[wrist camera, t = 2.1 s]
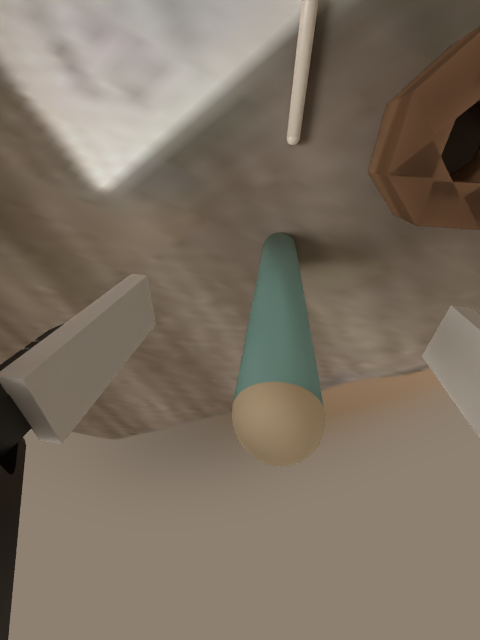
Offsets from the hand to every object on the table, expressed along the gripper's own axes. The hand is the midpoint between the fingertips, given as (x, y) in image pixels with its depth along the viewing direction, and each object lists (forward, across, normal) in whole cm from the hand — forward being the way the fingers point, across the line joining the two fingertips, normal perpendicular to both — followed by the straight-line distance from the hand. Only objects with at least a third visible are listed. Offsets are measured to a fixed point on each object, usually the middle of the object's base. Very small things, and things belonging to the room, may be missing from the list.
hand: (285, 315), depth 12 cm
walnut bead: (+10, +8, +7) cm, 15 cm away
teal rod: (+10, 0, 0) cm, 10 cm away
